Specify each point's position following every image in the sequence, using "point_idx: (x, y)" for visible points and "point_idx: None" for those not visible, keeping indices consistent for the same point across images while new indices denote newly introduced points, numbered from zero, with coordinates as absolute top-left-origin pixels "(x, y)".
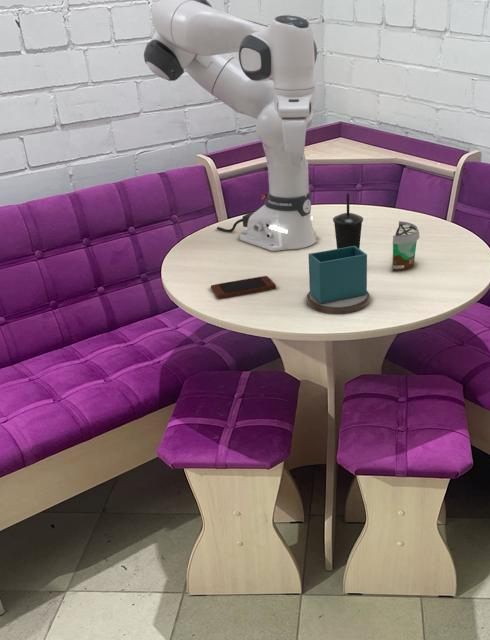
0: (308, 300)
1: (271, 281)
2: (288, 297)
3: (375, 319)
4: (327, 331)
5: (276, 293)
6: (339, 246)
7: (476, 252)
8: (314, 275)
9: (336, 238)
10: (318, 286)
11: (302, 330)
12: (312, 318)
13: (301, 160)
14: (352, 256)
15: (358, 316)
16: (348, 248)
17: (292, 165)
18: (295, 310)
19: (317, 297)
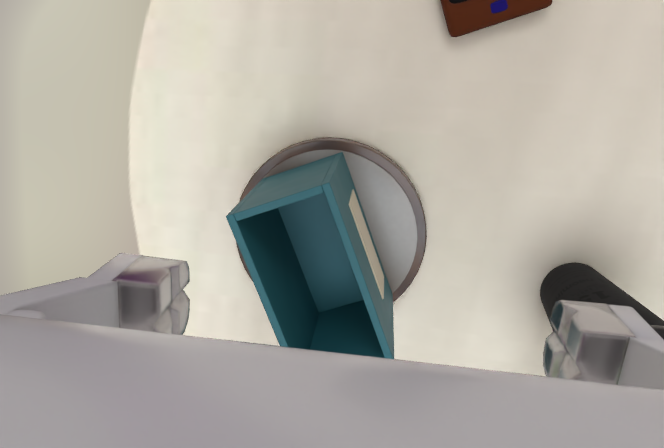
0: (304, 143)
1: (488, 20)
2: (373, 78)
3: (200, 310)
4: (132, 179)
5: (412, 37)
6: (581, 299)
7: None
8: (288, 183)
9: (609, 302)
10: (262, 186)
11: (138, 111)
12: (214, 145)
13: (545, 369)
14: (282, 337)
15: (220, 271)
16: (377, 335)
17: (87, 278)
18: (272, 97)
19: (281, 173)
